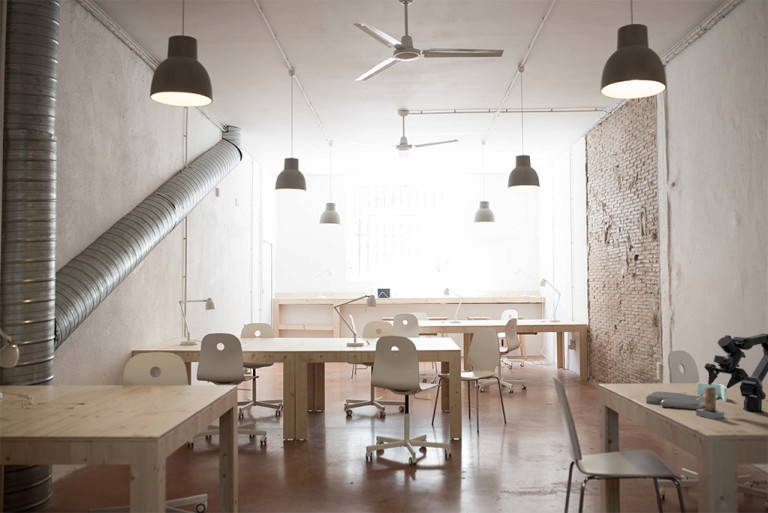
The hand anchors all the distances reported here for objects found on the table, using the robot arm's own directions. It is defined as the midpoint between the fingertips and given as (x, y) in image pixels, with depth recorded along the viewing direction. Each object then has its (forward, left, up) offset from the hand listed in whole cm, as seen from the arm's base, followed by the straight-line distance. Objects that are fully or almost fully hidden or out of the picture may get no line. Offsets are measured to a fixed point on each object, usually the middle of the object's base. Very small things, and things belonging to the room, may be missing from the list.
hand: (718, 386), depth 273 cm
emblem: (+10, -21, -14) cm, 27 cm away
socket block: (+6, +5, -13) cm, 15 cm away
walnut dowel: (+6, +5, -13) cm, 15 cm away
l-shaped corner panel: (-16, -41, -14) cm, 46 cm away
